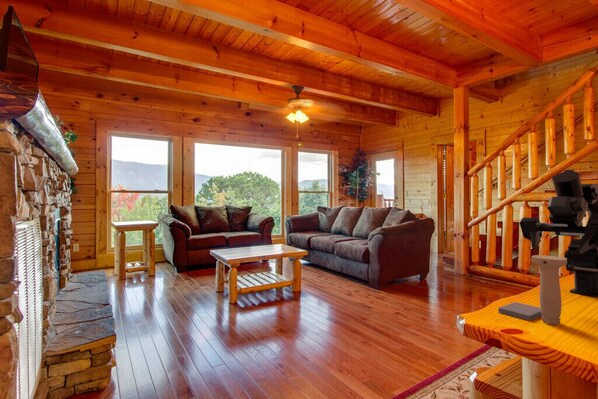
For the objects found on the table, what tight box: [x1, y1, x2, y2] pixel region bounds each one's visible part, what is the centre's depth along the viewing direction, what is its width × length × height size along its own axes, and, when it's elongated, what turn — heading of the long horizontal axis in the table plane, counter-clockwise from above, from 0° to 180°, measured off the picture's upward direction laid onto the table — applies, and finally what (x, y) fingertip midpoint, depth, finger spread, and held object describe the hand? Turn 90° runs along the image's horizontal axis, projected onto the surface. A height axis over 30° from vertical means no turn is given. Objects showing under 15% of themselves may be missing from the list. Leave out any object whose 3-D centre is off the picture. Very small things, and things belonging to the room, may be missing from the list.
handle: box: [531, 254, 567, 326], centre depth 75 cm, size 5×6×15 cm
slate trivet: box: [497, 301, 543, 322], centre depth 81 cm, size 8×7×1 cm
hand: (554, 250), depth 81 cm, fingers open, 9 cm apart
